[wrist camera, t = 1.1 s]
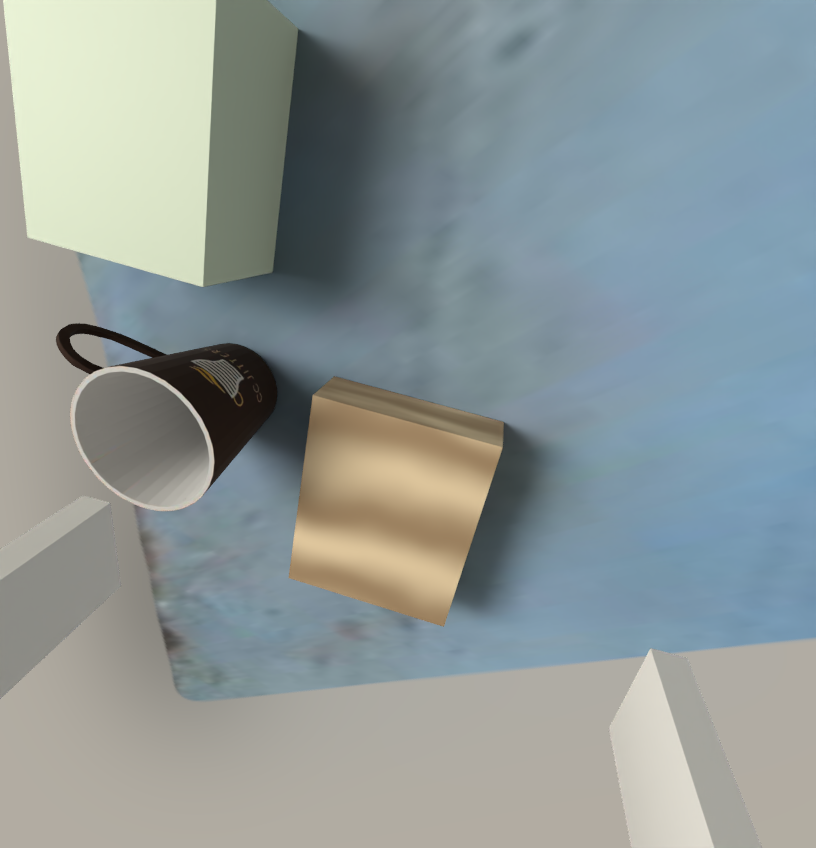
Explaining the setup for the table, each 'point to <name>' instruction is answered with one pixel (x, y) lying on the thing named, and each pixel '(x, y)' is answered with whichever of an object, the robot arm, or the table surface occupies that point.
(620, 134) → the table surface
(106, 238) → the sage brick
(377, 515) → the oak block
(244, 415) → the coffee mug
